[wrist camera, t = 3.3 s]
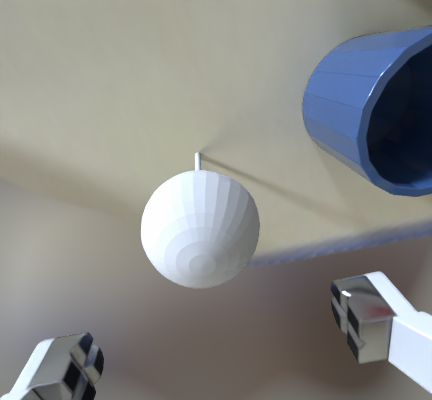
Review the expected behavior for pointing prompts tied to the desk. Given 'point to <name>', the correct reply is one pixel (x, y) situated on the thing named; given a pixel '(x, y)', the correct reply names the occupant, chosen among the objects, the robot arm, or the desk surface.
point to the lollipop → (200, 228)
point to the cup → (377, 108)
